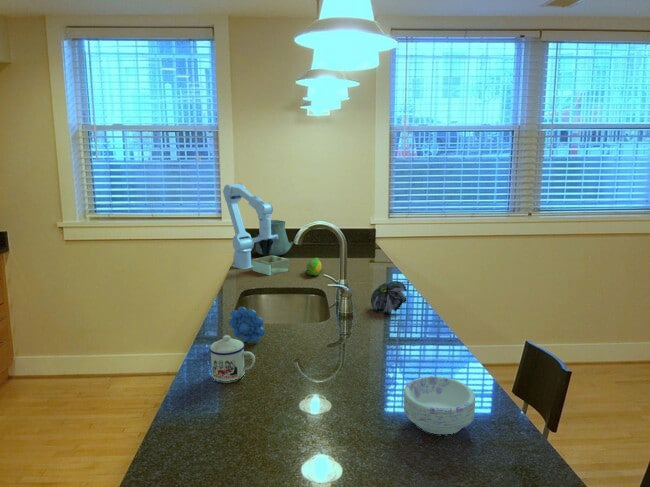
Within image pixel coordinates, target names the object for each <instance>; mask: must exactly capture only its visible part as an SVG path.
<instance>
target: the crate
mask: <svg viewBox="0 0 650 487" xmlns="http://www.w3.org/2000/svg"><path fill="white" fill-rule="evenodd" d="M255 259H257V260H261V261H265V262H269V263H271V275H270V276H273V275H278V274H283V273H286V272H290V259H289V258H284V257H280V256H269V255H266V256H262V257H258V258H255Z"/></svg>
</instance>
